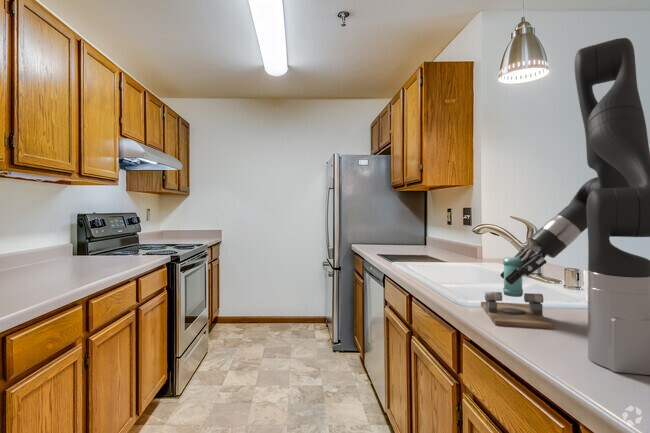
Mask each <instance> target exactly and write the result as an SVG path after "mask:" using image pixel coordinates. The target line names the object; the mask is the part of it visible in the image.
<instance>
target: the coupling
mask: <svg viewBox="0 0 650 433" xmlns="http://www.w3.org/2000/svg"><path fill="white" fill-rule="evenodd" d="M514 257H515V256H513V257H511V256H510V257H509V256H508V257H503V259H502V264H503V271H504V279H503V291H502V292H503V295H504V296H506V297H512V298H520V297H523V296H524V289H523V276H521V277H520V278H519V279H518V280H517V281H516V282H514V283H513V284H512V285H511V284H509V283H508V282H507V281H506V280H505V278H506V277H507V276H508V275H509V274H510V273H511V272H512V271H514V270H516V268H517V267H518V266H519V265H520V260H521V258H514Z"/></svg>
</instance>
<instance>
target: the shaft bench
mask: <svg viewBox="0 0 650 433" xmlns="http://www.w3.org/2000/svg"><path fill="white" fill-rule="evenodd" d="M502 301H503V294H502V291H484V301H481V302H480V306H481V307H482V309H483V311H484V312H485V313H486V315H487V316H488V317H489V319H490V320H491V321H492V323H493V325H494V326H500V327H501V326H502V327H514V328H515V327H518V328H532V329H533V328H536V329H546V330H547V329H548V330H550V329H552V330H553V329H554V323H553V322H551V321H550V320H549V319H548V318H547V317H545V316H544V314H543V303H544V294H542V293H534V292H533V293H528V292H523V301H524V302H525V303H519V302H518V303H517V302H513V303H512V302H502Z"/></svg>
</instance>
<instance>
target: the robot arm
mask: <svg viewBox="0 0 650 433" xmlns="http://www.w3.org/2000/svg"><path fill="white" fill-rule="evenodd" d="M636 65H637V64H636V56H635V48H634V44H633V42H632V41H631V39H629V38H627V37H619V38H615V39H610V40H607V41H604V42H600V43H599V42H598V43H597V44H592V45H588V46H586V47H583V48H580V49H578V51H576V54H575V56H574V76H575V77H574V79H575V85H576V90H577V96H578V103H579V108H580V112H581V117H582V118H581V119H582V122H583V126H584V134H585V146H586V162H587V166H588V168H590V169H592V170H594V171H595V172H596V175H597V176H596V177H593V178H591V179H588V181H586V182H585V183H583V185H581V187H580V188H579V189H578V191H577V192H576V194H574V196H573V198H572V199H571V201H570V203H569V204H568V205H566V206H565V207H564V208H563V209H561V211H560V212H558V213H557V215H554V217H552V218H551V219H550V220H549V221H547V222H546V223H545V224H543V226H541V228H539V229H538V230H537V231H536V232H535V233H534V234H533V235H532V236H531V237H530V238H529V241H530V242H531V243H532V244H531V246H529V247H526V248H521V249H520V250H519V251H518V252H517V254H515V256H513V257H514V258H521V260H520V265H519V266H518V267H517V268H516V270H514V271H512V272H511V273H510V274H509V275H508V276H507V277H506V278H505V280H506V281H507V282H508V283H509V284H511V285H512V284H513V283H514V282H516V281H517V280H518V279H519V278H520V277H521V276H522V277H525V276H527V277H528V276H529V275H531V274H533V273H534V272H536V271H537V270H539V269H540V268H541V267H543V266H544V265H545V264H547V262H548V261H547V260H546V259H545V258H546V257H549V258H550V259H551V258H552V259H554V258H556V257H557V256H558V255H559V254H560V253H562V252H563V251H564V250H565V249H567V248H568V246H570V245H571V244H572V243H573V242H574V241H575V240H576V239H577V238H578V237H579V236H581V234H582V233H583V232H584V231H585V230H586V229H587V239H588V241H587V244H588V245H587V247H588V250H587V252H588V253H587V254H588V256H587V261H588V262H587V269H588V303H587V358H588V360H590V361H591V362H593V363H594V364H597V365H599V366H601V367H603V368H606V369H608V370H610V371H612V372H614V373H623V374H634V375H645V376H646V375H647V376H648V375H649V376H650V259H648V258H646V257H644V256H641V255H637V254H633V253H630V252H627V251H626V250H622V249H621V248H618V247H617V246H615V245H614V244H613V243H612V242H611V241H610V237H618V238H621V237H622V238H650V146H649V139H648V138H649V137H648V129H647V124H646V119H645V112H644V110H643V105H642V101H641V97H640V93H639V87H638V80H637V67H636ZM613 81H614V83H613V85H612V86H611V88H610V89H609V90H608V91H607V92H606V93H605V95H603V97H601V99H600V100H599V101H598V100H597V99H596V96H595V94H594V88H593V87H594V86H596V85H599V84H604V83H608V82H613ZM500 277H501V278H502V279H503V280H504V270H503V271H502V272H501V273H500Z"/></svg>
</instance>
